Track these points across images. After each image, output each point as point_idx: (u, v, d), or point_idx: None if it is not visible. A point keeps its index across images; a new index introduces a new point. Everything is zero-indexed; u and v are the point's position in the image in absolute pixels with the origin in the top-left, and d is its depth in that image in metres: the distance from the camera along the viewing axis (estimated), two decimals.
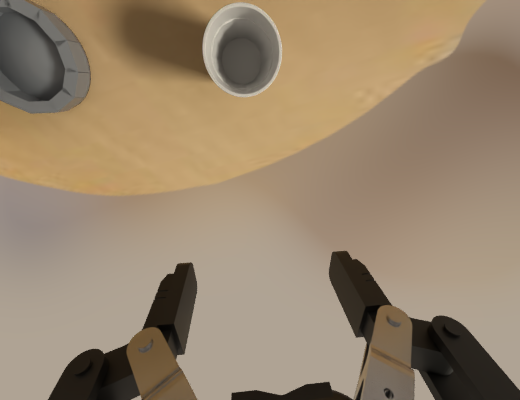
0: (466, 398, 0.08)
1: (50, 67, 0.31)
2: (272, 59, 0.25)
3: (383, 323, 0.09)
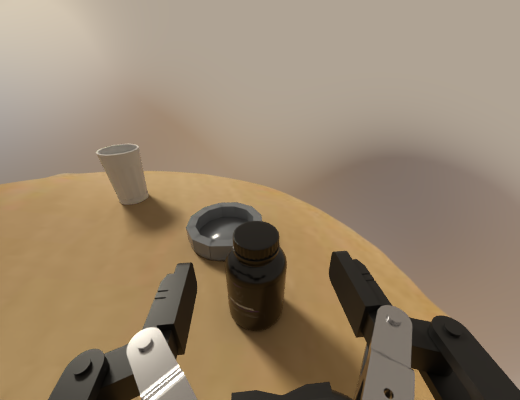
0: (466, 398, 0.08)
1: (222, 227, 0.42)
2: None
3: (383, 323, 0.09)
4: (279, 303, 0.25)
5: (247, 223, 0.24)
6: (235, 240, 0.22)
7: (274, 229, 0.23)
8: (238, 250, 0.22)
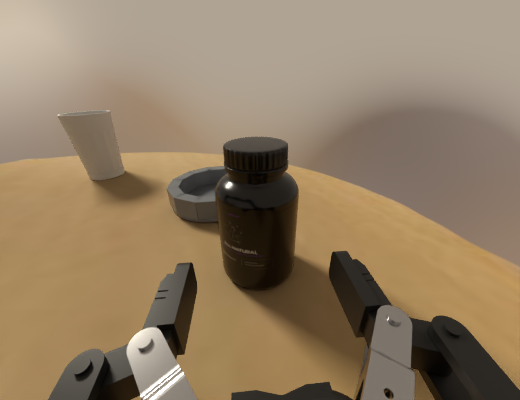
0: (466, 398, 0.08)
1: (211, 191, 0.36)
2: None
3: (383, 323, 0.09)
4: (291, 248, 0.19)
5: (242, 138, 0.18)
6: (227, 148, 0.16)
7: (280, 140, 0.17)
8: (231, 161, 0.15)
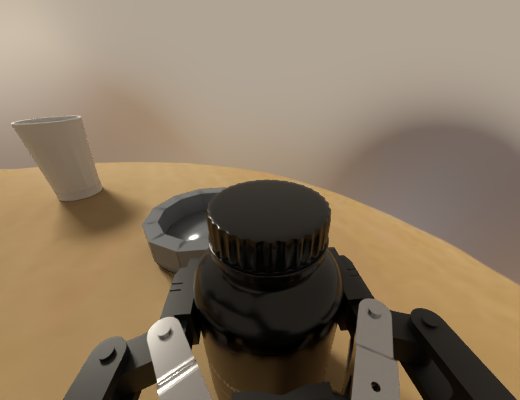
0: (445, 385, 0.08)
1: (203, 223, 0.28)
2: None
3: (365, 317, 0.09)
4: (325, 369, 0.11)
5: (243, 184, 0.10)
6: (213, 219, 0.08)
7: (312, 192, 0.09)
8: (221, 248, 0.08)
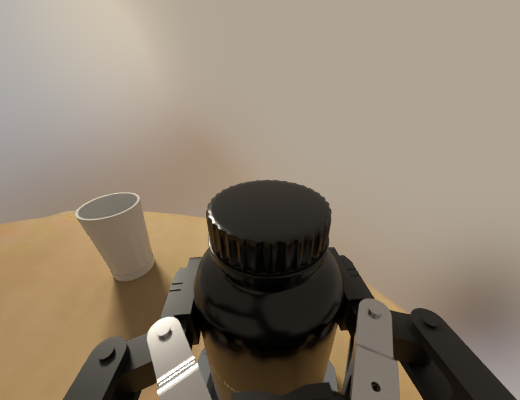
0: (445, 385, 0.08)
1: None
2: (109, 213, 0.35)
3: (365, 317, 0.09)
4: (325, 369, 0.11)
5: (244, 185, 0.10)
6: (213, 220, 0.08)
7: (312, 192, 0.09)
8: (221, 249, 0.08)
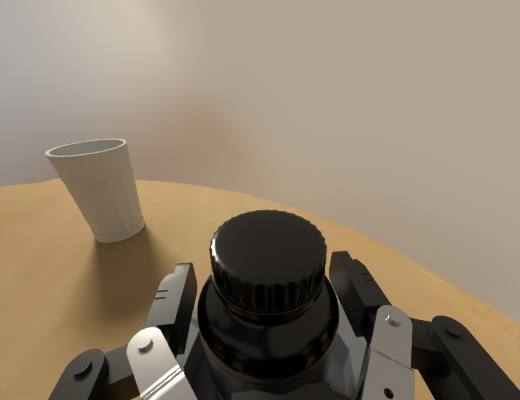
0: (466, 398, 0.08)
1: None
2: None
3: (383, 323, 0.09)
4: None
5: (244, 216, 0.11)
6: (216, 258, 0.08)
7: (309, 225, 0.10)
8: (224, 286, 0.08)
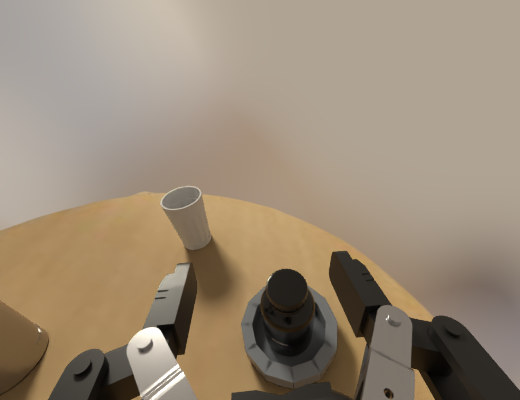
0: (466, 398, 0.08)
1: None
2: (179, 201, 0.48)
3: (383, 323, 0.09)
4: (309, 336, 0.29)
5: (277, 272, 0.27)
6: (269, 294, 0.25)
7: (302, 279, 0.26)
8: (272, 303, 0.25)
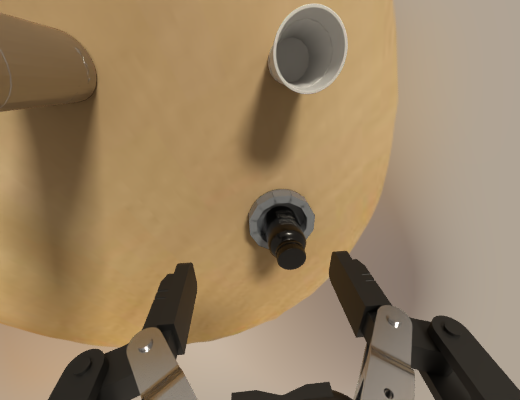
0: (466, 398, 0.08)
1: None
2: (309, 18, 0.24)
3: (383, 323, 0.09)
4: None
5: (296, 250, 0.35)
6: (279, 257, 0.36)
7: (303, 262, 0.37)
8: (276, 256, 0.37)
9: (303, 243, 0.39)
